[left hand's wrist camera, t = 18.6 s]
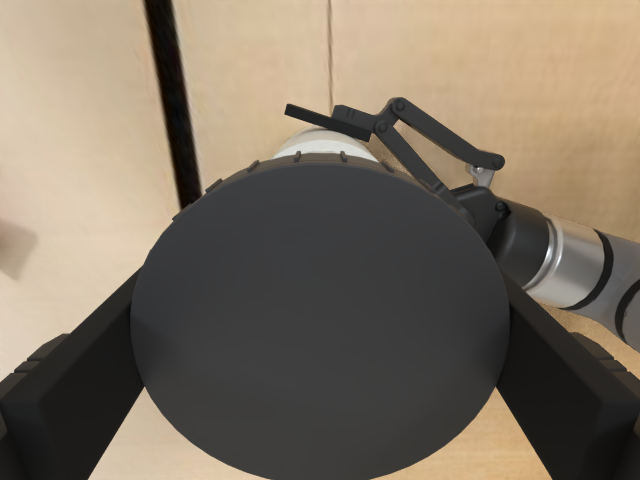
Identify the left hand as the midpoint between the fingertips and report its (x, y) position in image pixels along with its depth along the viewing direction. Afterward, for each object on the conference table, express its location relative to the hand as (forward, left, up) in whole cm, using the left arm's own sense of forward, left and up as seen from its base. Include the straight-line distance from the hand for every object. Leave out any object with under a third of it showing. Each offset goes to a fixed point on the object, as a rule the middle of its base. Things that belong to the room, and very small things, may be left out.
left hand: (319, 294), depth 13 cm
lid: (0, 0, +3) cm, 3 cm away
